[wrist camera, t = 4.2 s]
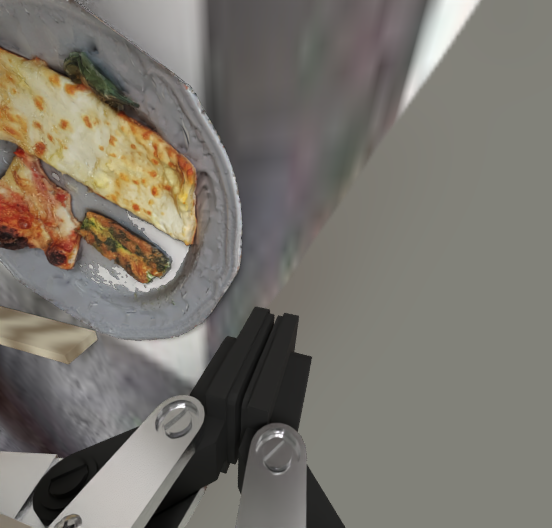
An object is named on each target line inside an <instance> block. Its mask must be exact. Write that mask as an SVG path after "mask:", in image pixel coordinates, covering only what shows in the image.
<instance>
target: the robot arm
mask: <svg viewBox="0 0 552 528" xmlns="http://www.w3.org/2000/svg"><path fill="white" fill-rule="evenodd" d="M298 321H299V316H297V315H292V314H288V313H284V315H283V316H278V317H277V319H276V321H275V324H274V314H270V310H269V309H265V308H260V307H255V308H254V309H253V311H252V313H251V314H250V316H249V318H248V320H247V321H246V323H245V325H244V327H243V329H242V330H241V332H240V334H239V336H238V337H237V338H234V337H229V336H227V337H226V338H225V339H224V341H223V342H222V344H221V345H220V347H219V349H218V350H217V352H216V353H215V355H214V357H213V358H212V360H211V361H210V363H209V365H208V366H207V368H206V369H205V371H204V373H203V374H202V376H201V377H200V379H199V381H198V382H197V384H196V386H195V387H194V389H193V390H192V392H191V394H190V395H189V396H188V395H179V396H175V397H172V398H170V399H168V400H166V401H164V402H163V403H161V404H160V405H159V406H158V407H157V408H156V409H155V410H154V411H153V412H152V413H151V414H150V416H149V417H148V418H147V419H146V420H145V421H144V422H143V423H142V424H141V425H140V426H139V427H136V428H134V429H132V430H129V431H127V432H124V433H122V434H119V435H117V436H115V437H112V438H110V439H107V440H105V441H103V442H100V443H98V444H95V445H93V446H90V447H88V448H86V449H83V450H81V451H78V452H76V453H73V454H71V455H69V456H67V457H66V458H58V456H57V454H38V453H19V452H1V451H0V528H185V527H186V525H187V523H188V521H189V520H190V518H191V516H192V514H193V513H194V511H195V509H196V507H197V506H198V504H199V502H200V500H201V498H202V497H203V495H204V493H205V491H206V488H207V485H208V484H210V483H212V482H214V481H216V480H217V479H218V476H219V474H220V472H223V473H227V470H228V468H229V465H230V463H232V464H236V462H237V460H238V462H239V463H238V488H239V491H240V493H241V498H240V504H239V510H238V515H237V520H236V526H235V528H345V526H344V524H343V523H342V521H341V520H340V518H339V516H338V515H337V513H336V511H335V510H334V508H333V507H332V505H331V503H330V502H329V500H328V498H327V497H326V495H325V493H324V492H323V490H322V489H321V487H320V485H319V484H318V482H317V480H316V479H315V477H314V475H313V474H312V472H311V470H310V469H309V467H308V466H307V453H306V447H305V443H304V441H303V439H302V437H301V436H300V434H299V433H298V428H299V423H300V418H301V412H302V408H303V402H304V397H305V392H306V387H307V382H308V376H309V371H310V365H311V359H312V357H311V356H307V355H303V354H299V353H295V352H294V350H295V342H296V335H297V327H298Z"/></svg>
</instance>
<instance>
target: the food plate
mask: <svg viewBox="0 0 552 528" xmlns="http://www.w3.org/2000/svg"><path fill="white" fill-rule="evenodd" d="M174 75H175V74H174V73H173V72H171V71H170V70H169V69H167V68H166V67H164V66H163V65H162V64H160V63H159V62H157V61H156V60H154V59H153V58H151V57H150V56H149V55H148V54H147V53H145V52H143V51H142V50H141V49H139V48H138V47H137V46H136V45H135V44H133V43H132V42H131V41H129V40H128V39H127V38H125V37H124V36H122V35H121V34H120V33H118V32H117V31H115V30H114V29H113V28H112V27H110V26H109V25H107V24H106V23H105V22H103V21H102V20H100V19H99V18H98V17H96V16H95V15H93V14H92V13H91V12H89V11H88V10H87V9H86V8H84V7H83V6H81V5H80V4H78V3H77V2H76V1H74V0H0V261H1V262H2V263H3V265H4V266H5V267H6V268H7V269H8V270H9V271H10V272H11V273H12V275H13V277H15V279H16V280H18V281H19V282H20V283H22V284H23V285H24V284H25V285H26V286H25V287H27V288H29V289H32V290H33V292H36V293H38V295H41V296H42V298H45V299H46V300H49V302H51V303H52V302H53V304H55V306H57V307H58V308H60V309H61V310H63V311H64V310H66V313H69V314H72V315H71V316H73V317H75V318H76V319H79V320H80V321H82V322H84V323H85V324H86V325H87V324H89V325H90V326H91V328H93V329H94V328H95V330H97V331H98V332H100V333H103V334H107V335H110V336H113V337H116V338H118V339H125V340H135V341H142V340H155V339H165V338H171V337H173V336H175V337H177V336H178V337H179V335H182V334H184V333H187V332H188V331H190V330H191V329H194V327H195V326H197V325H200V324H201V323H203V322H204V320H205V318H207V317H209V314H210V313H212V311H213V310H214V308H215V307H216V306H217V304H218V302H219V301H220V300H221V298H222V296H223V295H224V293H225V292H226V290H227V289H228V288H229V286H230V283H231V282H232V281H233V279H234V277H235V276H236V275H237V272H238V270H239V268H240V261H241V253H242V252H241V249H242V246H241V245H242V242H241V241H242V239H240V237H241V235H242V229H241V228H242V224H241V222H243V221H242V220H241V219H242V215H241V214H242V213H241V210H240V209H241V201H240V198H239V193H238V189H237V187H238V185H237V183H236V182H235V175H234V173H233V169H232V166H231V163H230V160H228V159H229V157H228V156H227V152H226V150H225V146H223V144H221V143H222V142H221V140H220V136H219V135H218V133H217V131H216V129H215V128H214V127H213V125H212V123H211V121H210V119H209V118H208V116H207V115H206V113H205V111H204V110H203V107H202V105H201V104H200V101H199V99H198V97H197V95H196V93H192V92H193V90H192V89H191V88H192V87H191V86H190V85H189V86H190V87H191V88H189V87H188V86H186V84H187V83H186V84H185V83H184V82H182V83H181V81H180V80H179V79H180V78H179V77H178V76H177V77H178V78H179V79H178V78H177V77H175V76H176V75H175V76H174ZM182 81H183V80H182ZM52 173H56V174H57V175H58V176H59V178H60V180H59V181H57V180H56V179H54V178H53V176H52ZM110 211H111V212H110ZM126 211H128V213H129V215H130V216H131V217H135V218H138V219H140V220H141V221H145V222H147V223H149V224H150V225H151V224H153V226H155V227H156V228H157V229H158V230H160V231H163V232H164V233H166V234H168V235H170V236H171V237H172V238H175V239H178V240H181V241H183V242H184V243H185V245H187V246H188V245H190V244H191V245H190V247H189V251H188V253H187V254H186V256H185V258H184V261H183V263H181V266H180V268H179V270H178V271H177V272H176V276H175V278H174V279H173V280H171V281H169V282H168V283H167V284H166V285H161V286H160V287H159V289H158V290H157V289H156V288H153V289H150V291H149V292H142V291H138V288H136V290H135V293H134V292H130V291H129V289H128V288H126V287H125V286H124V285H117V284H114V286H115V288H117V290H116V289H114V288H113V285H112V282H111V281H109V283H110V284H111V285H108V284H104V283H103V281H107V280H104V278H102V276H100V275H99V276H98V275H97V273H98V271H99V270H98V268H99V266H98V264H100V266H102V267H104V268H105V269H107V270H108V271H109V273H110V275H111V276H113V277H116V279H117V280H119V278H118V276H117V274H119V275H120V274H121V273H116V271H115V270H113V269H112V267H116V266H117V267H119V266H118V265H120V266H121V267H122V268H124V270H126V272H127V273H128V274H129V275H130V276H133V278H134V279H136V280H137V281H139V282H141V283H149V282H151V283H152V282H153V280H152V279H153V278H155V277H159V278H160V279H161V278H162V277H163V276H165V274H166V273H167V272H168V271H169V270H170V267H171V266H170V265H171V263H172V258H171V257H170V256H169V255H168V254H166V251H164V250H162V249H161V248H160V247H159V246H158V245H157V244H155V243H154V242H152V241H151V240H150V239H149V238H147V236H146V235H145V234H144V233H143V232H142V231H144V228H141V230H138V228H137V227H138V226H137V225H136V224H134V225H135V226H133V223H132V221H131V220H129V218H128V215H127V212H126ZM123 222H124V223H123ZM93 261H94V262H93ZM79 264H81V265H82V267H81V266H80V265H79ZM84 264H86V265H84ZM89 264H91V265H92V266H93V269H90V268H89ZM94 268H95V269H94ZM86 269H87V270H86ZM91 270H92V272H93V273H94V274H95V275H93V274H92V272H91ZM96 271H97V272H96ZM111 272H112V273H111ZM86 273H87V274H86ZM87 277H88V278H87ZM91 277H93V278H94V279H95V280H96V281H99V282H100V283H96V282H95V281H93V280H92V279H91ZM96 277H97V278H99V279H100V280H98V279H97V278H96ZM126 277H128V276H127V274H126ZM122 278H123V276H122ZM125 283H126V282H125ZM122 286H124V287H122ZM144 287H145V288H146V286H145V285H144ZM89 325H88V326H89Z"/></svg>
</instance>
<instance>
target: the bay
mask: <svg viewBox="0 0 552 528" xmlns="http://www.w3.org/2000/svg"><path fill="white" fill-rule="evenodd" d="M96 340H98V339H97V336H96V333H95V331H93V330H89V329H86V328H82V327H78V326H74V325H70V324H66V323H63V322H59V321H55V320H51V319H47V318H44V317H40V316H36V315H32V314H28V313H24V312H21V311H17V310H13V309H9V308H5V307H1V306H0V344H1V345H5V346H8V347H12V348H15V349H18V350H22V351H25V352H29V353H32V354H35V355H39V356H42V357H46V358H49V359H52V360H56V361H59V362H63V363H66V364H70V363H71V362H72V361H73V360H74V359H76V358H77V357H78V356H79V355H80V354H81V353H83V352H84V351H85V350H86V349H87V348H88V347H89V346H91V345H92V344H93V343H94V342H95V341H96Z"/></svg>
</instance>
